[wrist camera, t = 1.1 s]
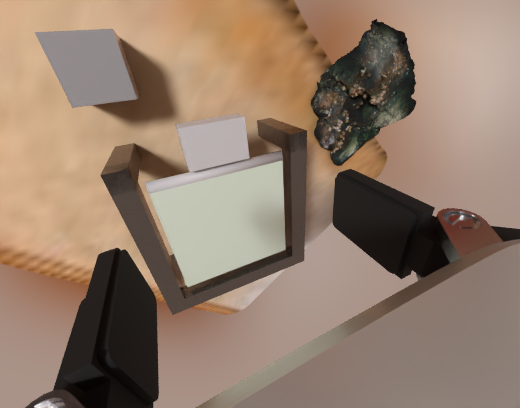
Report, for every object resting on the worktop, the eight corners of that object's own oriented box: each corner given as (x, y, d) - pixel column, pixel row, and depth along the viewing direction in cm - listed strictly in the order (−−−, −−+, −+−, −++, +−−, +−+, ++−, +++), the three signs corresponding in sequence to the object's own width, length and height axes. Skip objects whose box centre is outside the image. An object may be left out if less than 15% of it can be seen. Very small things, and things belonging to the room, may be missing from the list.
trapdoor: (127, 132, 19) (124, 137, 17) (274, 107, 23) (283, 109, 21) (186, 278, 29) (188, 290, 28) (280, 243, 33) (287, 251, 32)
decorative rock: (359, 180, 38) (306, 142, 29) (335, 165, 43) (283, 129, 34) (442, 73, 33) (409, -15, 24) (405, 70, 37) (365, -5, 28)
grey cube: (58, 41, 20) (34, 32, 16) (119, 37, 21) (112, 28, 17) (86, 102, 22) (72, 107, 18) (139, 95, 24) (137, 99, 20)
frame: (115, 146, 25) (100, 175, 18) (270, 118, 31) (306, 130, 23) (168, 266, 35) (172, 314, 28) (277, 228, 41) (304, 260, 34)
